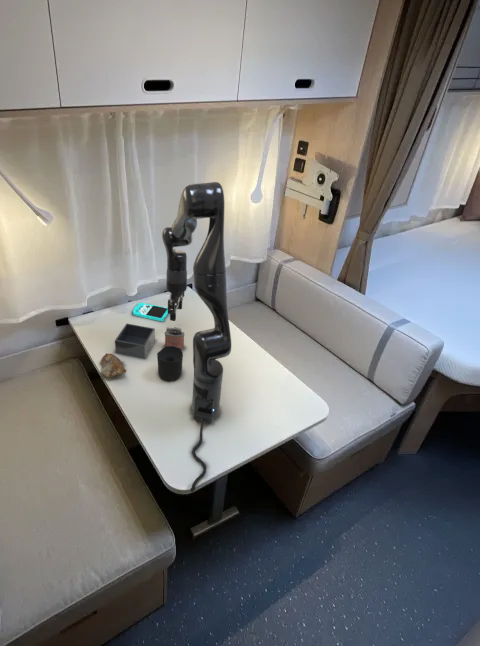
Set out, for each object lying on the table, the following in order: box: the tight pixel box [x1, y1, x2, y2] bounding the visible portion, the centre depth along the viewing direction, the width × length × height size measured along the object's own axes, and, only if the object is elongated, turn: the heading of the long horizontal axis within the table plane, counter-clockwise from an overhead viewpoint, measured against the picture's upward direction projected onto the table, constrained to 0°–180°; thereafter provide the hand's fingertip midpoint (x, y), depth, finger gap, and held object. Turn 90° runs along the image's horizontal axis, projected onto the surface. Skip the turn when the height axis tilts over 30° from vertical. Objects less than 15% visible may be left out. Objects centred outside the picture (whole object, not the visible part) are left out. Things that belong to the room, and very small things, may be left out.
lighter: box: [164, 326, 185, 351], centre depth 162 cm, size 8×3×10 cm, turn 84°
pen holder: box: [156, 346, 184, 383], centre depth 148 cm, size 9×9×10 cm
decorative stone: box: [100, 352, 127, 378], centre depth 152 cm, size 10×4×15 cm
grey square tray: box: [114, 323, 156, 360], centre depth 163 cm, size 12×13×6 cm
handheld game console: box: [132, 302, 169, 322], centre depth 186 cm, size 10×16×1 cm, turn 70°
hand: (176, 314), depth 156 cm, fingers open, 8 cm apart
